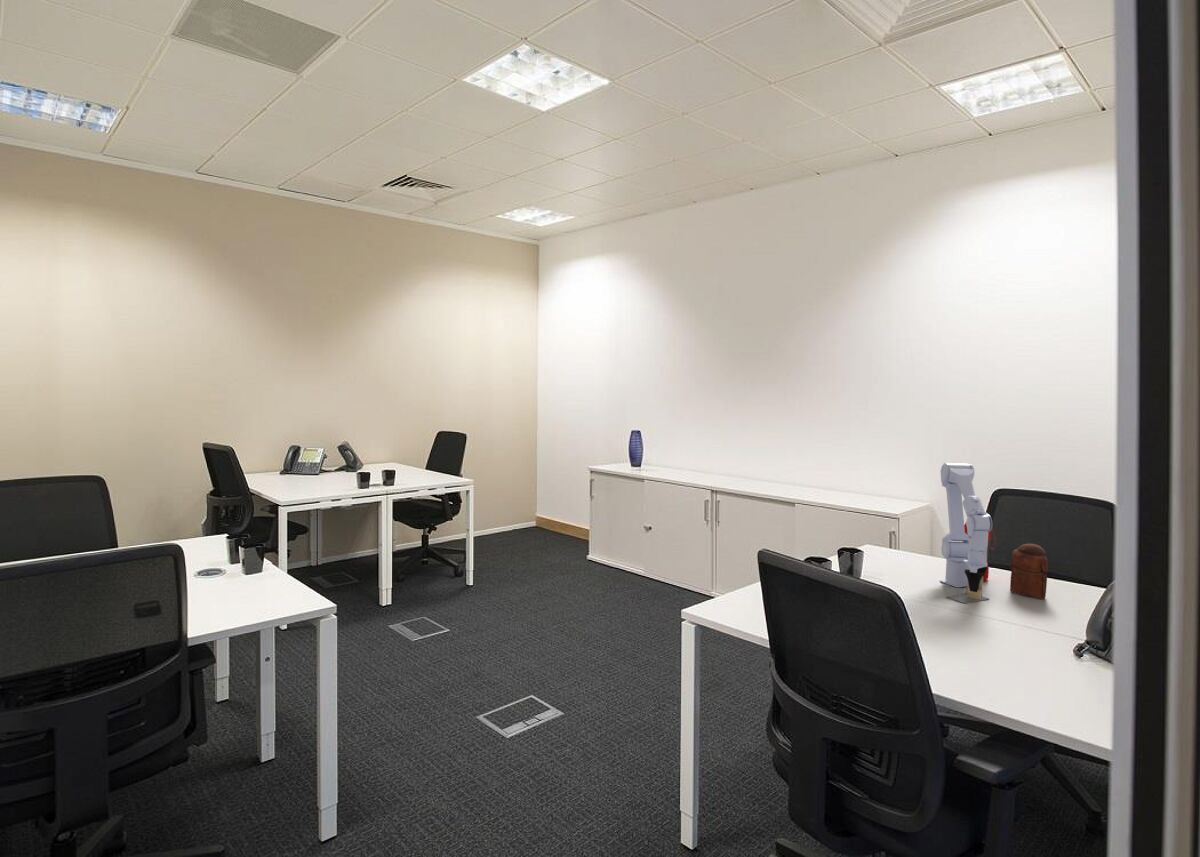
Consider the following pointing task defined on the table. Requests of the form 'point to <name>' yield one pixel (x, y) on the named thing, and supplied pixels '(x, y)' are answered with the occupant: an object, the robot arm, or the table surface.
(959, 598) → the slate mat
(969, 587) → the robot arm
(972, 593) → the oak block
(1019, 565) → the brown upright rounded block
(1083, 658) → the table surface
